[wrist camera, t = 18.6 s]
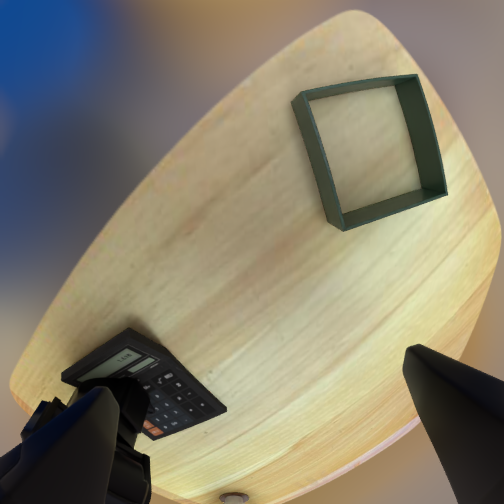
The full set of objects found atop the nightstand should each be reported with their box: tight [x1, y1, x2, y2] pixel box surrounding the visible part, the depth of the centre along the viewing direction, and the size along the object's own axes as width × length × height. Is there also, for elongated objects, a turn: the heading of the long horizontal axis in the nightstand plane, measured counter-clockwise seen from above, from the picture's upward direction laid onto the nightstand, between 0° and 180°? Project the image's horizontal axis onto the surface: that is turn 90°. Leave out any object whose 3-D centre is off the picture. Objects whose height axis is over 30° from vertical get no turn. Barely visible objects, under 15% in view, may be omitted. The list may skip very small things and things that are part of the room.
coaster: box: [220, 493, 249, 503], centre depth 29 cm, size 4×4×1 cm
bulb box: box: [291, 74, 448, 232], centre depth 17 cm, size 8×8×3 cm
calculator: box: [61, 328, 227, 441], centre depth 22 cm, size 9×12×3 cm
